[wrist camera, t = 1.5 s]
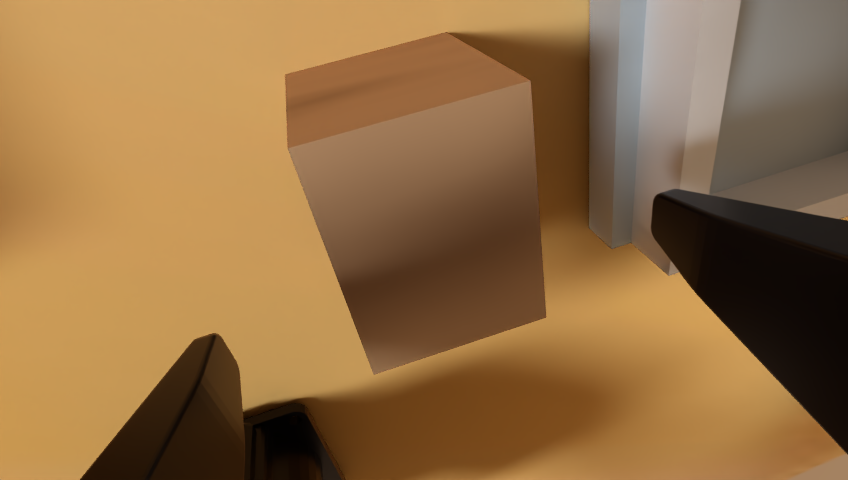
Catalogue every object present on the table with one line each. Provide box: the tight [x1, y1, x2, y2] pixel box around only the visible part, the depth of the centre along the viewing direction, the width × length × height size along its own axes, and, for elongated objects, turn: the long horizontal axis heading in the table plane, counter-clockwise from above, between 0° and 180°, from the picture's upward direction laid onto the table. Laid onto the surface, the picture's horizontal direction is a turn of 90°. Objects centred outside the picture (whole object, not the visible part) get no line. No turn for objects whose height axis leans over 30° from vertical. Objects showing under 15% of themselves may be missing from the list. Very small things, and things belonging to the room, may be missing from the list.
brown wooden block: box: [285, 32, 546, 374], centre depth 12 cm, size 6×4×6 cm
